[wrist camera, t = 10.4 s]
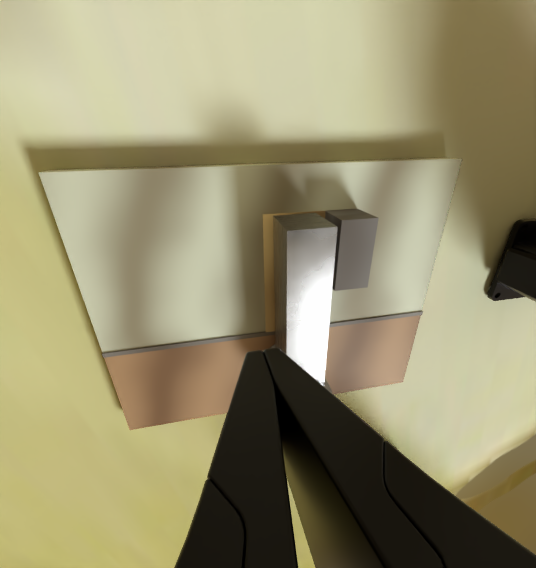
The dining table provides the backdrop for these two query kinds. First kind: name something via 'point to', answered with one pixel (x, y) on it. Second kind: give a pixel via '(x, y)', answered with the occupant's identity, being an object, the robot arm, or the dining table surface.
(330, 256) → the bar
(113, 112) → the dining table surface
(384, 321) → the door mock-up board
